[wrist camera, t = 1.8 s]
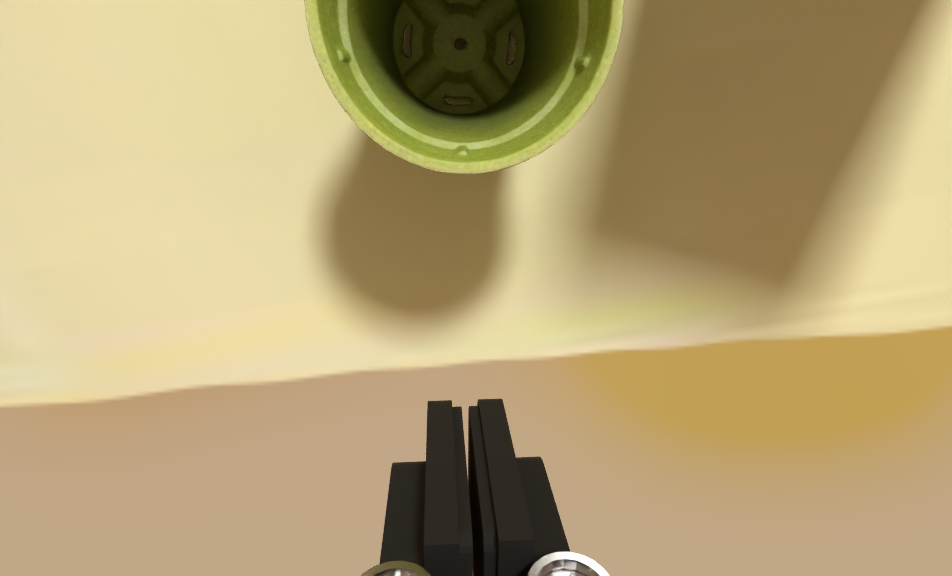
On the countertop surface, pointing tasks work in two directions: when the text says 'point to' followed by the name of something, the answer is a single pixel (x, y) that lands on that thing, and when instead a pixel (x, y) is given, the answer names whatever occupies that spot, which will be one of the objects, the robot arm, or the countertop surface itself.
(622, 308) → the countertop surface
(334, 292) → the countertop surface
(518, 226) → the countertop surface
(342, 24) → the plant pot
